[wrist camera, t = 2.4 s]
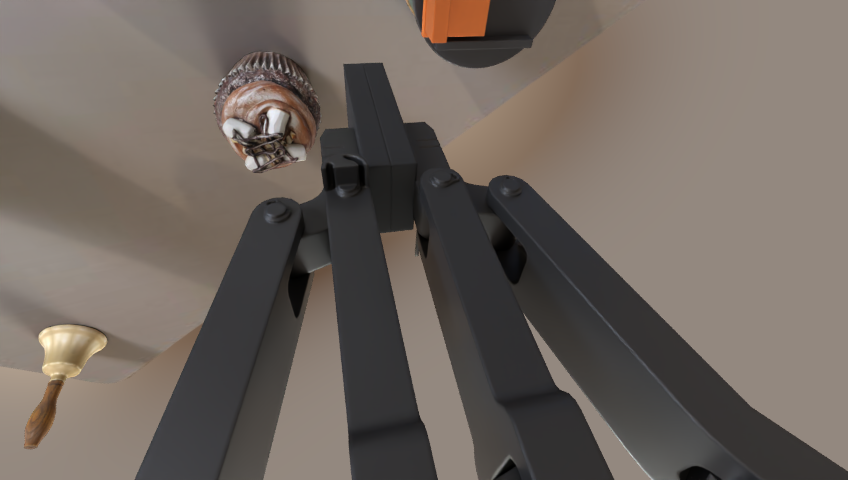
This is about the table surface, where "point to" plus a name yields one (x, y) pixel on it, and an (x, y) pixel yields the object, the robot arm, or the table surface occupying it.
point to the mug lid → (494, 33)
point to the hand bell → (60, 371)
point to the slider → (453, 19)
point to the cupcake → (267, 111)
